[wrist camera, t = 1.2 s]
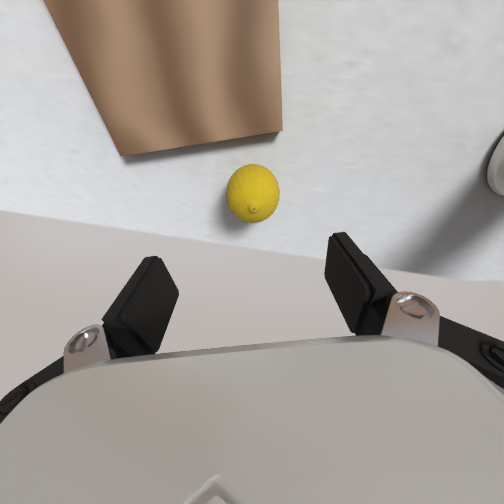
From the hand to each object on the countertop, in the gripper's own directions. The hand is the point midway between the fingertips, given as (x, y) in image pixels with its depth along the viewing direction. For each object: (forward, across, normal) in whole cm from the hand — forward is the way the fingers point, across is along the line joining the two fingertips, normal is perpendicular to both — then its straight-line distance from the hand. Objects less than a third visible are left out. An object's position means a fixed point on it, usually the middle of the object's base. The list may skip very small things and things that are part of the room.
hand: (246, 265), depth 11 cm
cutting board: (+16, +4, -12) cm, 20 cm away
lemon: (+16, -1, 0) cm, 16 cm away
